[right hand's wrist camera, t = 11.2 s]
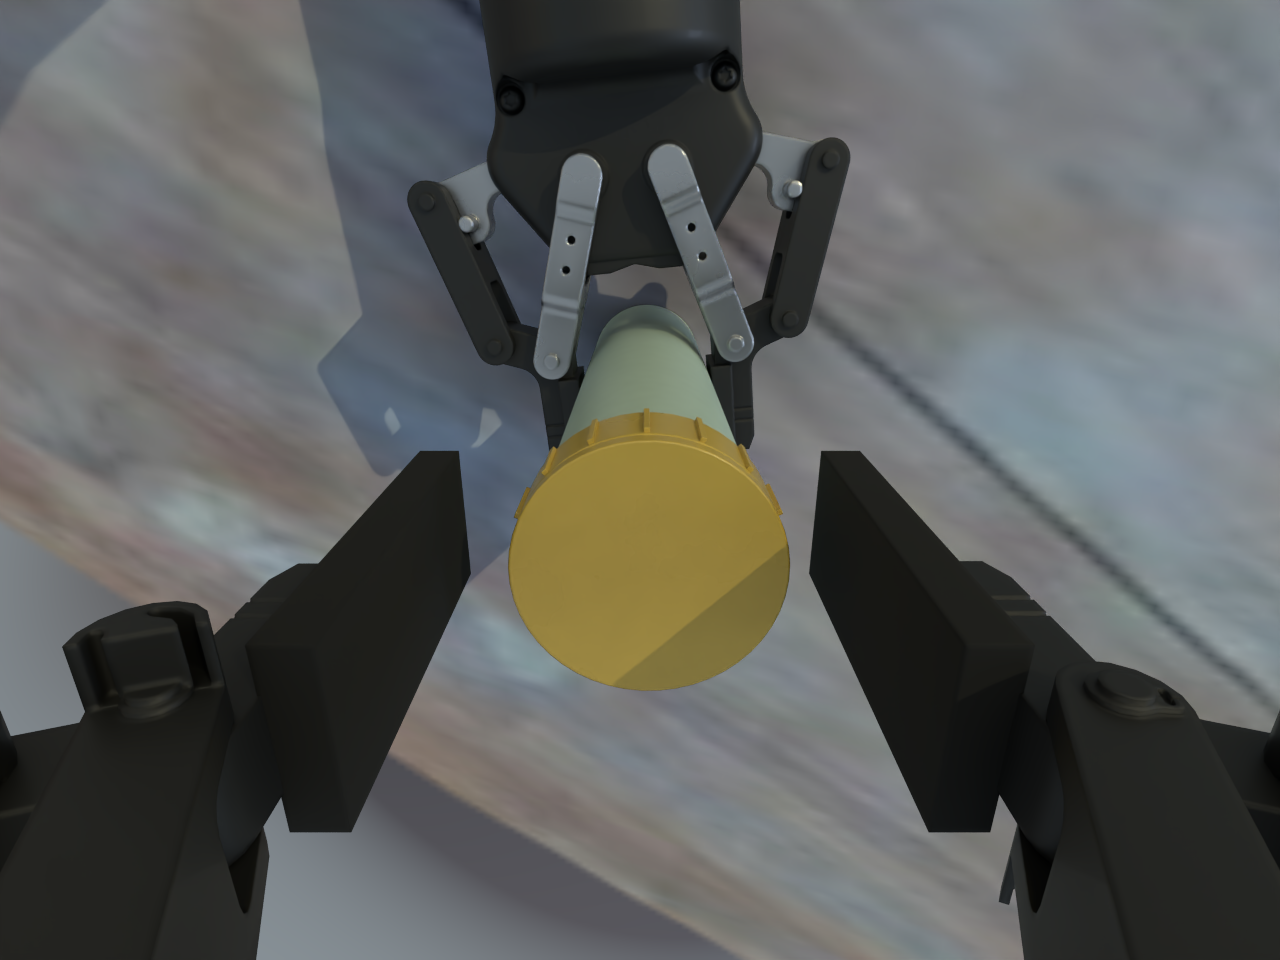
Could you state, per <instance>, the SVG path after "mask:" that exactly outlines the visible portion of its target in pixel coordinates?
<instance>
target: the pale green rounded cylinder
mask: <svg viewBox="0 0 1280 960" xmlns="http://www.w3.org/2000/svg"><path fill="white" fill-rule="evenodd" d="M644 408H649V409H650V412H658V413H667V414H674V415H678V416H682V417H686V418H690V419H693V420H695V419H696V417H699V418H701V419H702V422H703V424H706V425H707V426H709V427H711V428H713V429H715V430H717V431H718V432H720V433H722V434H723V435H724V436H726V437H727V438H728V439H730V440H731V441H732V442H734V443H735V444H736V442H735V440H734V437H733V435H732V432H731V430H730V427H729V425H728V422H727V420H726V417H725V415H724V412H723V410H722V407H721V404H720V402H719V399H718V397H717V394H716V392H715V389H714V387H713V384H712V382H711V379H710V377H709V374H708V372H707V369H706V367H705V364H704V362H703V359H702V356H701V354H700V351H699V349H698V346H697V344H696V341H695V339H694V336H693V334H692V332H691V330H690V328H689V327H688V326H687V324H686V323H685V322H684V321H683V320H682V319H681V318H680V317H679V316H678V315H676V314H675V313H673V312H672V311H670V310H668V309H665V308H663V307H659V306H654V305H639V306H634V307H631V308H628V309H626V310H623V311H622V312H620V313H618V314H617V315H616V316H614V317H613V318H612V319H611V320H610V321H609V322H608V323H607V324H606V326H605V327H604V329H603V330H602V332H601V334H600V336H599V339H598V342H597V345H596V347H595V350H594V353H593V355H592V358H591V361H590V364H589V366H588V369H587V372H586V374H585V377H584V380H583V382H582V385H581V388H580V391H579V393H578V396H577V399H576V401H575V404H574V407H573V410H572V412H571V415H570V418H569V420H568V423H567V426H566V429H565V431H564V434H563V437H562V439H561V442H560V445H561V444H563V443H564V442H565V441H566V440H568V439H569V438H570V437H572V436H573V435H574V434H576V433H578V432H579V431H581V430H583V429H584V428H586V427H588V426H590V425H591V422H592V420H594V419H596V418H597V419H598V422H599V421H602V420H604V419H608V418H611V417H615V416H619V415H624V414H631V413H638V412H644ZM560 445H559V446H560Z"/></svg>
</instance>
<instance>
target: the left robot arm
mask: <svg viewBox="0 0 1280 960" xmlns="http://www.w3.org/2000/svg"><path fill="white" fill-rule="evenodd" d="M479 1H480V8H481V15H482V21H483V28H484V34H485V41H486V48H487V54H488V61H489V67H490V74H491V81H492V87H493V94H494V101H495V112H496V115H495V126H494V131H493V135H492V138H491V141H490V144H489V147H488V151H487V162H484V163H482V164H480V165H478V166H475V167H473V168H471V169H469V170H466V171H464V172H462V173H460V174H458V175H455V176H453V177H451V178H449V179H446V180H444V181H442V182H432V181H419V182H417V183H416V184H414V185H413V186H412V187H411V189H410V190H409V193H408V198H407V201H408V206H409V209H410V211H411V213H412V215H413V218H414V220H415V222H416V224H417V226H418V228H419V230H420V232H421V234H422V236H423V239H424V241H425V243H426V245H427V247H428V249H429V251H430V253H431V255H432V258H433V260H434V262H435V264H436V266H437V268H438V270H439V272H440V274H441V276H442V279H443V281H444V283H445V285H446V287H447V289H448V291H449V293H450V295H451V297H452V300H453V302H454V304H455V306H456V308H457V310H458V312H459V314H460V316H461V318H462V321H463V323H464V325H465V327H466V329H467V331H468V333H469V335H470V337H471V340H472V342H473V344H474V346H475V348H476V350H477V352H478V354H479V356H480V357H481V359H482V360H483V361H485V362H486V363H488V364H491V365H501V364H505V365H509V366H513V367H517V368H521V369H524V370H527V371H528V372H530V373H531V374H532V375H533V376H534V377H535V378H536V379H537V381H538V383H539V386H540V391H541V398H542V405H543V411H544V418H545V425H546V431H547V436H548V444H549V451H550V449H551V448H552V447H555V448H556V449H557V448H558V447H559V445H560V442H561V439H562V437H563V434H564V431H565V429H566V426H567V423H568V420H569V418H570V415H571V412H572V410H573V407H574V404H575V401H576V399H577V396H578V393H579V391H580V388H581V385H582V382H583V380H584V377H585V374H584V366H580V367H577V361H576V350H577V345H578V340H579V334H580V329H581V323H582V318H583V313H584V308H585V303H586V299H587V295H588V290H589V285H590V279H591V275H598V274H608V273H612V272H615V271H618V270H620V269H623V268H625V267H628V266H630V265H633V264H639V265H644V266H650V267H656V268H667V267H676V266H683V268H684V271H685V273H686V276H687V278H688V281H689V283H690V286H691V288H692V291H693V293H694V295H695V298H696V300H697V303H698V305H699V308H700V310H701V313H702V315H703V318H704V320H705V323H706V325H707V328H708V330H709V333H710V339H711V354H709V355H706V367H707V372H708V374H709V377H710V379H711V382H712V384H713V387H714V389H715V392H716V394H717V397H718V399H719V402H720V404H721V407H722V410H723V412H724V415H725V417H726V420H727V422H728V425H729V427H730V430H731V432H732V435H733V437H734V440H735V442H736V445H737V446H739V445H740V444H742V445H743V446H744V447H745V449H749V448H750V445H751V442H752V439H753V437H754V420H753V395H752V372H751V365H752V361H753V358H754V356H755V355H756V353H757V352H758V351H759V350H760V349H761V348H762V347H764V346H766V345H768V344H770V343H772V342H774V341H776V340H779V339H781V338H783V337H785V338H792V337H795V336H798V335H799V334H801V333H802V332H803V331H804V329H805V328H806V326H807V324H808V320H809V316H810V312H811V309H812V305H813V301H814V297H815V293H816V290H817V286H818V282H819V278H820V274H821V270H822V267H823V263H824V259H825V255H826V251H827V248H828V244H829V240H830V236H831V232H832V228H833V225H834V221H835V217H836V213H837V209H838V206H839V202H840V198H841V194H842V190H843V186H844V183H845V179H846V175H847V171H848V167H849V163H850V152H849V149H848V147H847V145H846V144H845V143H844V142H843V141H842V140H840V139H838V138H826V139H821V140H818V141H809V140H804V139H799V138H794V137H789V136H784V135H779V134H774V133H769V132H764V131H762V127H761V124H760V121H759V118H758V117H757V115H756V113H755V112H754V110H753V108H752V106H751V104H750V102H749V100H748V97H747V94H746V91H745V87H744V82H743V70H742V46H741V21H740V0H479ZM754 166H756V167H758V168H760V169H761V170H762V171H763V172H764V174H765V176H766V178H767V197H768V200H769V202H770V204H771V205H772V206H773V207H774V208H776V209H778V210H782V211H783V212H782V216H781V220H780V225H779V229H778V233H777V237H776V242H775V246H774V250H773V254H772V259H771V263H770V267H769V271H768V276H767V280H766V284H765V288H764V292H763V297H762V300H760V301H758V302H756V303H754V304H752V305H750V306H748V307H745V308H743V309H742V306H741V303H740V301H739V298H738V295H737V293H736V290H735V287H734V282H733V279H732V276H731V273H730V271H729V268H728V265H727V263H726V260H725V257H724V255H723V252H722V249H721V247H720V244H719V241H718V239H717V236H716V233H715V232H716V230H717V228H718V226H719V225H720V223H721V221H722V220H723V218H724V216H725V215H726V213H727V211H728V209H729V208H730V206H731V204H732V203H733V201H734V199H735V198H736V196H737V194H738V192H739V191H740V189H741V187H742V186H743V184H744V182H745V180H746V179H747V177H748V175H749V174H750V172H751V170H752V169H753V167H754ZM501 193H502V195H503V196H504V197H505V198H506V199H507V200H508V201H509V203H510V204H511V205H512V206H513V207H514V208H515V209H516V210H517V212H518V213H519V214H520V215H521V216H522V217H523V218H524V219H525V221H526V222H527V223H528V224H529V225H530V226H531V227H532V228H533V230H534V231H535V232H536V233H537V234H538V235H539V236H540V238H541V239H542V240H543V241H544V242H545V243H546V244H547V245H548V247H549V248H550V250H549V256H548V262H547V268H546V274H545V280H544V286H543V293H542V309H541V316H540V322H539V328H535V327H531V326H527V325H523V324H521V323H520V321H519V318H518V316H517V314H516V312H515V309H514V307H513V305H512V303H511V301H510V298H509V296H508V294H507V292H506V289H505V287H504V285H503V283H502V280H501V278H500V276H499V274H498V271H497V269H496V267H495V265H494V263H493V260H492V258H491V256H490V254H489V251H488V249H487V247H486V245H485V241H487V240H488V239H490V238H491V237H492V235H493V233H494V231H495V219H494V215H493V205H494V202H495V200H496V198H497V197H498V196H499V195H500V194H501Z"/></svg>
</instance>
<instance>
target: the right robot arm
mask: <svg viewBox="0 0 1280 960" xmlns="http://www.w3.org/2000/svg"><path fill="white" fill-rule="evenodd" d="M470 574H471V571H470V560H469V550H468V540H467V530H466V520H465V510H464V500H463V490H462V480H461V470H460V459H459V451H420V452H419V453H418V454H417V455H416V456H415V457H414V458H413V459H412V461H411V462H410V463H409V464H408V465H407V466H406V467H405V468H404V469H403V471H402V472H401V473H400V474H399V475H398V476H397V477H396V478H395V479H394V480H393V482H392V483H391V484H390V485H389V486H388V487H387V488H386V489H385V490H384V492H383V493H382V494H381V495H380V496H379V497H378V498H377V499H376V500H375V502H374V503H373V504H372V505H371V506H370V507H369V508H368V509H367V510H366V511H365V513H364V514H363V515H362V516H361V517H360V518H359V519H358V520H357V521H356V523H355V524H354V525H353V526H352V527H351V528H350V529H349V530H348V531H347V533H346V534H345V535H344V536H343V537H342V538H341V539H340V540H339V541H338V543H337V544H336V545H335V546H334V547H333V548H332V549H331V550H330V551H329V552H328V554H327V555H326V556H325V557H324V558H323V559H322V560H321V561H320V562H319V564H297V565H295V566H293V567H291V568H290V569H288V570H286V571H284V572H282V573H281V574H279V575H277V576H275V577H273V578H272V579H270V580H269V581H268V582H267V583H266V584H265V585H264V586H263V587H262V588H261V589H260V590H259V591H258V592H257V593H256V594H255V595H254V596H253V597H252V598H251V601H250V602H247V603H246V604H245V605H244V606H243V607H242V608H241V609H240V610H239V611H238V612H237V613H236V614H235V618H231V619H230V620H229V621H228V622H227V623H226V624H225V625H224V626H223V627H222V628H221V629H220V630H219V631H218V632H217V633H216V634H215V635H214V634H213V631H212V627H211V623H210V619H209V615H208V611H207V610H205V609H204V608H202V607H201V606H199V605H198V604H195V603H187V602H180V601H173V602H160V603H151V604H147V605H143V606H138V607H134V608H130V609H126V610H123V611H120V612H118V613H115V614H113V615H110V616H107V617H105V618H102V619H100V620H98V621H96V622H94V623H92V624H91V625H89V626H87V627H86V628H84V629H82V630H80V631H79V632H77V633H76V634H75V635H74V636H73V637H72V638H71V639H70V640H69V641H68V642H66V643H65V644H64V645H63V647H62V648H63V651H64V653H65V656H66V659H67V662H68V665H69V667H70V670H71V673H72V676H73V679H74V682H75V684H76V687H77V690H78V693H79V696H80V699H81V702H82V704H83V707H84V710H85V713H84V715H83V717H82V719H81V721H80V723H76V724H71V725H66V726H61V727H56V728H50V729H46V730H41V731H35V732H30V733H25V734H20V735H15V736H10V733H9V731H8V728H7V726H6V723H5V721H4V719H3V716H2V714H1V711H0V960H256V955H257V948H258V940H259V932H260V924H261V917H262V909H263V901H264V893H265V886H266V878H267V870H268V862H269V851H268V844H267V840H266V836H265V832H264V828H263V826H264V824H265V823H266V821H267V820H268V818H269V816H270V815H271V813H272V811H273V810H274V808H275V806H276V805H277V803H278V801H279V800H280V798H282V802H283V806H284V810H285V814H286V818H287V823H288V827H289V831H290V832H352V829H353V827H354V825H355V823H356V821H357V819H358V816H359V814H360V812H361V810H362V808H363V806H364V803H365V801H366V799H367V797H368V795H369V793H370V791H371V788H372V786H373V784H374V782H375V779H376V778H377V775H378V773H379V771H380V769H381V767H382V764H383V762H384V760H385V758H386V756H387V754H388V752H389V749H390V747H391V745H392V743H393V741H394V739H395V736H396V734H397V732H398V730H399V728H400V726H401V723H402V721H403V719H404V717H405V715H406V713H407V710H408V708H409V706H410V704H411V702H412V700H413V697H414V695H415V693H416V691H417V689H418V687H419V684H420V682H421V680H422V678H423V676H424V674H425V672H426V669H427V667H428V665H429V663H430V661H431V659H432V656H433V654H434V652H435V650H436V648H437V646H438V643H439V641H440V639H441V637H442V635H443V633H444V630H445V628H446V626H447V624H448V622H449V620H450V617H451V615H452V613H453V611H454V609H455V607H456V604H457V602H458V600H459V598H460V596H461V594H462V591H463V589H464V587H465V585H466V583H467V581H468V578H469V576H470ZM809 574H810V576H811V578H812V581H813V583H814V585H815V587H816V589H817V591H818V594H819V596H820V598H821V600H822V602H823V604H824V607H825V609H826V611H827V613H828V615H829V617H830V620H831V622H832V624H833V626H834V628H835V630H836V633H837V635H838V637H839V639H840V641H841V643H842V646H843V648H844V650H845V652H846V654H847V656H848V659H849V661H850V663H851V665H852V667H853V669H854V672H855V674H856V676H857V678H858V680H859V682H860V684H861V687H862V689H863V691H864V693H865V695H866V697H867V700H868V702H869V704H870V706H871V708H872V710H873V713H874V715H875V717H876V719H877V721H878V723H879V726H880V728H881V730H882V732H883V734H884V736H885V739H886V741H887V743H888V745H889V747H890V749H891V752H892V754H893V756H894V758H895V760H896V762H897V765H898V767H899V769H900V771H901V773H902V775H903V778H904V780H905V782H906V784H907V786H908V788H909V791H910V793H911V795H912V797H913V799H914V801H915V803H916V806H917V808H918V810H919V812H920V814H921V816H922V819H923V821H924V823H925V825H926V827H927V829H928V832H990V831H991V827H992V823H993V818H994V814H995V810H996V806H997V802H998V798H999V795H1000V796H1001V798H1002V799H1003V801H1004V803H1005V804H1006V806H1007V808H1008V809H1009V811H1010V812H1011V814H1012V816H1013V817H1014V819H1015V821H1016V822H1017V828H1016V832H1015V836H1014V839H1013V843H1012V847H1011V851H1010V855H1009V859H1008V863H1007V866H1006V870H1005V874H1004V878H1003V882H1002V886H1001V891H1000V897H999V902H1001V903H1005V904H1008V905H1009V903H1010V899H1011V896H1012V892H1013V889H1015V891H1016V899H1017V907H1018V915H1019V922H1020V930H1021V938H1022V946H1023V954H1024V960H1280V711H1279V714H1278V716H1277V719H1276V721H1275V723H1274V726H1273V728H1272V731H1271V733H1267V732H1262V731H1257V730H1252V729H1246V728H1241V727H1236V726H1231V725H1226V724H1221V723H1216V722H1211V721H1205V720H1201V719H1199V717H1198V716H1197V714H1196V712H1195V710H1194V709H1193V708H1192V707H1191V706H1190V704H1189V703H1188V702H1187V701H1186V700H1185V699H1184V697H1183V696H1182V695H1180V694H1179V693H1177V692H1176V691H1174V690H1173V689H1172V688H1170V687H1169V686H1167V685H1166V684H1164V683H1163V682H1161V681H1159V680H1157V679H1155V678H1153V677H1150V676H1148V675H1146V674H1144V673H1141V672H1139V671H1137V670H1134V669H1130V668H1127V667H1123V666H1119V665H1116V664H1112V663H1106V662H1096V661H1095V660H1094V659H1093V658H1092V657H1091V656H1090V655H1089V654H1088V653H1087V652H1086V651H1085V650H1084V649H1083V648H1082V647H1081V646H1080V645H1079V644H1078V643H1077V642H1076V641H1075V640H1074V639H1073V638H1072V637H1071V636H1070V635H1069V634H1068V633H1067V632H1066V631H1065V630H1064V629H1063V628H1062V627H1061V626H1060V625H1059V624H1058V623H1057V622H1056V621H1055V620H1054V619H1053V618H1052V617H1051V616H1046V611H1045V610H1044V609H1043V608H1042V607H1041V606H1040V605H1039V604H1038V603H1037V602H1036V601H1035V600H1030V596H1029V595H1028V594H1027V593H1026V592H1025V591H1024V590H1023V589H1022V588H1021V587H1020V586H1019V585H1018V584H1017V583H1016V582H1015V581H1014V580H1013V579H1012V578H1011V577H1010V576H1008V575H1006V574H1004V573H1002V572H1001V571H999V570H997V569H995V568H993V567H992V566H990V565H988V564H986V563H984V562H982V561H959V560H958V559H957V558H956V557H955V556H954V555H953V554H952V552H951V551H950V550H949V549H948V548H947V547H946V546H945V545H944V544H943V543H942V541H941V540H940V539H939V538H938V537H937V536H936V535H935V534H934V533H933V531H932V530H931V529H930V528H929V527H928V526H927V525H926V524H925V523H924V521H923V520H922V519H921V518H920V517H919V516H918V515H917V514H916V513H915V512H914V510H913V509H912V508H911V507H910V506H909V505H908V504H907V503H906V502H905V500H904V499H903V498H902V497H901V496H900V495H899V494H898V493H897V492H896V490H895V489H894V488H893V487H892V486H891V485H890V484H889V483H888V482H887V480H886V479H885V478H884V477H883V476H882V475H881V474H880V473H879V472H878V471H877V469H876V468H875V467H874V466H873V465H872V464H871V463H870V462H869V461H868V459H867V458H866V457H865V456H864V455H863V454H862V453H861V452H860V451H821V459H820V469H819V480H818V490H817V500H816V510H815V520H814V530H813V540H812V550H811V560H810V571H809Z"/></svg>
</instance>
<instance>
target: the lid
mask: <svg viewBox="0 0 1280 960" xmlns="http://www.w3.org/2000/svg"><path fill="white" fill-rule="evenodd" d="M781 514H783V513H782V510H781V508H780V506H779V504H778V502H777V499H776V497H775V495H774V493H773V491H772V489H771V486H770V484H767V485H765V483H764V481H763V479H762V477H761V476H760V474H759V472H758V470H757V469H756V467H755V465H754V464H753V463H752V462H751V460H750V459H749V456H748V454H747V452H746V449H745V447H744V446H743V445H742V444H740V445H739V446H737V445H736V444H735V443H734V442H732V441H731V440H730V439H728V438H727V437H726V436H724V435H723V434H722V433H720V432H718V431H717V430H715V429H713V428H711V427H709V426H707V425H706V424H703V422H702V419H701V418H699V417H696V419H695V420H693V419H690V418H686V417H682V416H678V415H674V414H667V413H658V412H650V409H649V408H644V412H638V413H631V414H624V415H619V416H615V417H611V418H608V419H604V420H602V421H599V422H598V419H597V418H596V419H594V420H592V422H591V425H590V426H588V427H586V428H584V429H583V430H581V431H579V432H578V433H576V434H574V435H573V436H572V437H570V438H569V439H568V440H566V441H565V442H564V443H563V444H561V445H560V446H559V447H558V448H557V449H556V448H555V447H552V448H551V449H550V452H549V454H548V457H547V459H546V462H545V463H544V465H543V466H542V468H541V469H540V471H539V473H538V474H537V476H536V478H535V480H534V482H533V484H532V486H531V488H528V487H527V488H526V490H525V492H524V494H523V497H522V499H521V501H520V504H519V506H518V508H517V511H516V513H515V516H514V518H516V519H518V520H517V523H516V526H515V529H514V531H513V534H512V539H511V544H510V549H509V561H508V571H509V582H510V587H511V591H512V595H513V599H514V602H515V604H516V607H517V609H518V612H519V614H520V616H521V618H522V620H523V621H524V623H525V625H526V627H527V628H528V630H529V631H530V633H531V634H532V635H533V637H534V638H535V639H536V641H537V642H538V643H539V644H540V645H541V646H542V647H543V648H544V649H545V650H546V651H547V652H548V653H549V654H550V655H551V656H553V657H554V658H555V659H556V660H558V661H559V662H560V663H561V664H563V665H564V666H566V667H568V668H569V669H571V670H573V671H574V672H576V673H578V674H580V675H582V676H584V677H586V678H589V679H591V680H593V681H596V682H599V683H602V684H606V685H609V686H613V687H618V688H623V689H631V690H641V691H653V690H667V689H675V688H680V687H684V686H689V685H693V684H696V683H699V682H701V681H704V680H707V679H710V678H712V677H714V676H716V675H718V674H720V673H722V672H724V671H726V670H727V669H729V668H730V667H732V666H733V665H735V664H736V663H738V662H739V661H740V660H742V659H743V658H744V657H745V656H746V655H748V654H749V653H750V652H751V651H752V650H753V649H754V648H755V647H756V646H757V645H758V644H759V643H760V642H761V641H762V639H763V638H764V637H765V635H766V634H767V633H768V631H769V630H770V628H771V627H772V625H773V623H774V622H775V620H776V618H777V616H778V614H779V612H780V610H781V607H782V604H783V602H784V599H785V596H786V592H787V587H788V582H789V572H790V557H789V547H788V542H787V538H786V534H785V530H784V528H783V525H782V523H781V520H780V518H779V515H781Z"/></svg>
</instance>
